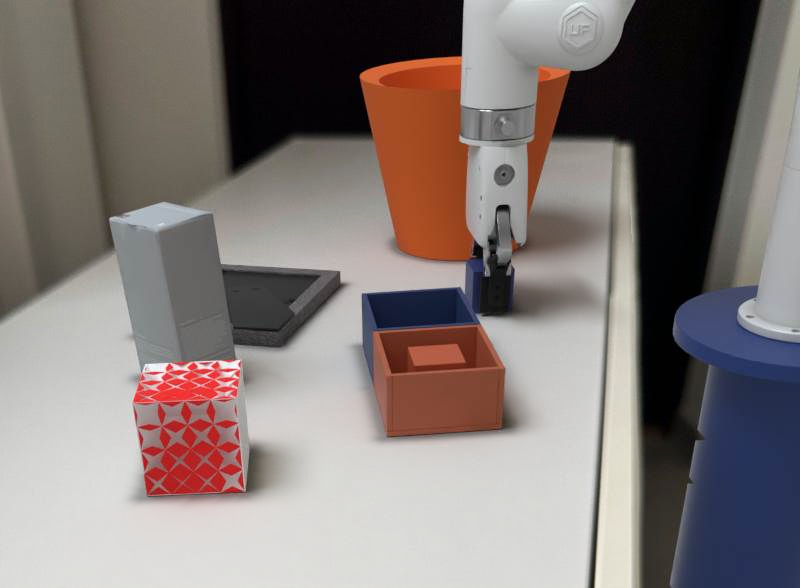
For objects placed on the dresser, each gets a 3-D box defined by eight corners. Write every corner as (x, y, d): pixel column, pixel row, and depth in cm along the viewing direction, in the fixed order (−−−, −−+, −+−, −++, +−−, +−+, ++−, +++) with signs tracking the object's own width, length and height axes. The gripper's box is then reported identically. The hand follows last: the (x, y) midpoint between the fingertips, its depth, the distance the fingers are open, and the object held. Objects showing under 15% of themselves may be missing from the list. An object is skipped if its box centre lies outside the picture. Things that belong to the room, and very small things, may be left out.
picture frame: (279, 347, 109) (340, 284, 125) (277, 328, 108) (340, 267, 124) (140, 336, 114) (217, 276, 130) (138, 317, 113) (215, 260, 129)
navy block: (503, 297, 119) (506, 256, 116) (512, 310, 115) (515, 268, 113) (464, 300, 119) (466, 259, 116) (471, 313, 115) (473, 271, 112)
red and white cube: (245, 491, 84) (236, 398, 79) (147, 496, 84) (132, 403, 79) (249, 447, 90) (241, 358, 86) (158, 452, 90) (145, 363, 86)
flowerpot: (585, 227, 140) (602, 59, 128) (507, 282, 123) (518, 94, 112) (419, 209, 151) (420, 53, 140) (326, 256, 135) (319, 84, 123)
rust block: (455, 390, 97) (457, 343, 94) (464, 410, 93) (466, 361, 91) (407, 394, 97) (407, 346, 94) (413, 414, 93) (414, 365, 91)
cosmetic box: (240, 381, 102) (224, 210, 93) (180, 402, 99) (157, 227, 89) (190, 359, 108) (170, 195, 98) (131, 379, 104) (105, 211, 95)
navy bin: (458, 340, 109) (460, 286, 105) (478, 380, 100) (480, 323, 97) (362, 346, 108) (361, 293, 105) (373, 387, 100) (372, 330, 96)
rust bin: (478, 381, 100) (481, 324, 97) (501, 429, 91) (505, 368, 88) (373, 388, 100) (372, 331, 96) (386, 436, 91) (386, 376, 88)
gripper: (554, 138, 99) (539, 326, 110) (515, 106, 113) (505, 276, 124) (475, 143, 99) (468, 331, 110) (446, 110, 113) (442, 280, 124)
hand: (488, 300), depth 117 cm, fingers open, 5 cm apart
